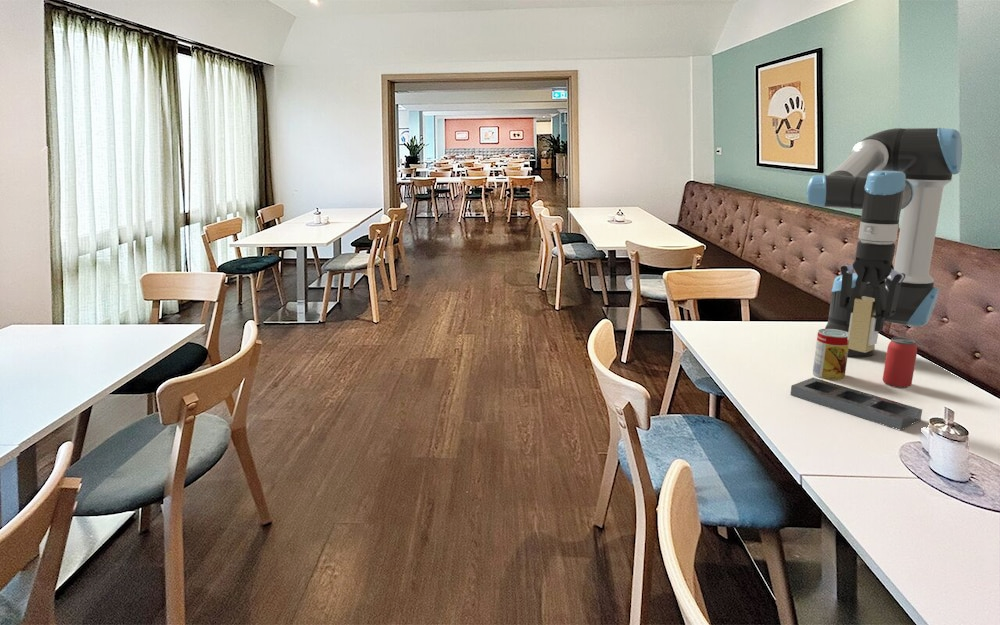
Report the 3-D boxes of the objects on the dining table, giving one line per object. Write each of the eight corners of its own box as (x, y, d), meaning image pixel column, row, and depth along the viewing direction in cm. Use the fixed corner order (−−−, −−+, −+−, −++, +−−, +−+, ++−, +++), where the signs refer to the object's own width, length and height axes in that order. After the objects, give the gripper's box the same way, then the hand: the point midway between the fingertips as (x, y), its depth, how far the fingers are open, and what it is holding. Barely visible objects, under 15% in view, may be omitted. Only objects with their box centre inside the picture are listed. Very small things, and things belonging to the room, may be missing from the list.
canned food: (851, 379, 181) (857, 336, 178) (825, 381, 179) (831, 337, 176) (831, 369, 188) (837, 327, 185) (806, 371, 187) (811, 329, 184)
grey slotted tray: (811, 386, 175) (812, 377, 175) (920, 419, 155) (922, 409, 155) (790, 394, 170) (791, 385, 169) (900, 430, 149) (902, 419, 149)
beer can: (910, 390, 173) (918, 345, 170) (881, 385, 177) (888, 341, 174) (911, 382, 179) (918, 339, 176) (882, 378, 182) (889, 335, 179)
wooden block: (856, 345, 161) (863, 296, 158) (873, 349, 158) (881, 299, 155) (847, 348, 159) (854, 298, 156) (865, 352, 156) (872, 301, 153)
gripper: (830, 238, 157) (818, 335, 163) (909, 248, 144) (892, 353, 150) (847, 235, 161) (834, 330, 167) (925, 244, 148) (908, 347, 154)
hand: (861, 341), depth 158 cm, fingers closed on wooden block, 4 cm apart
